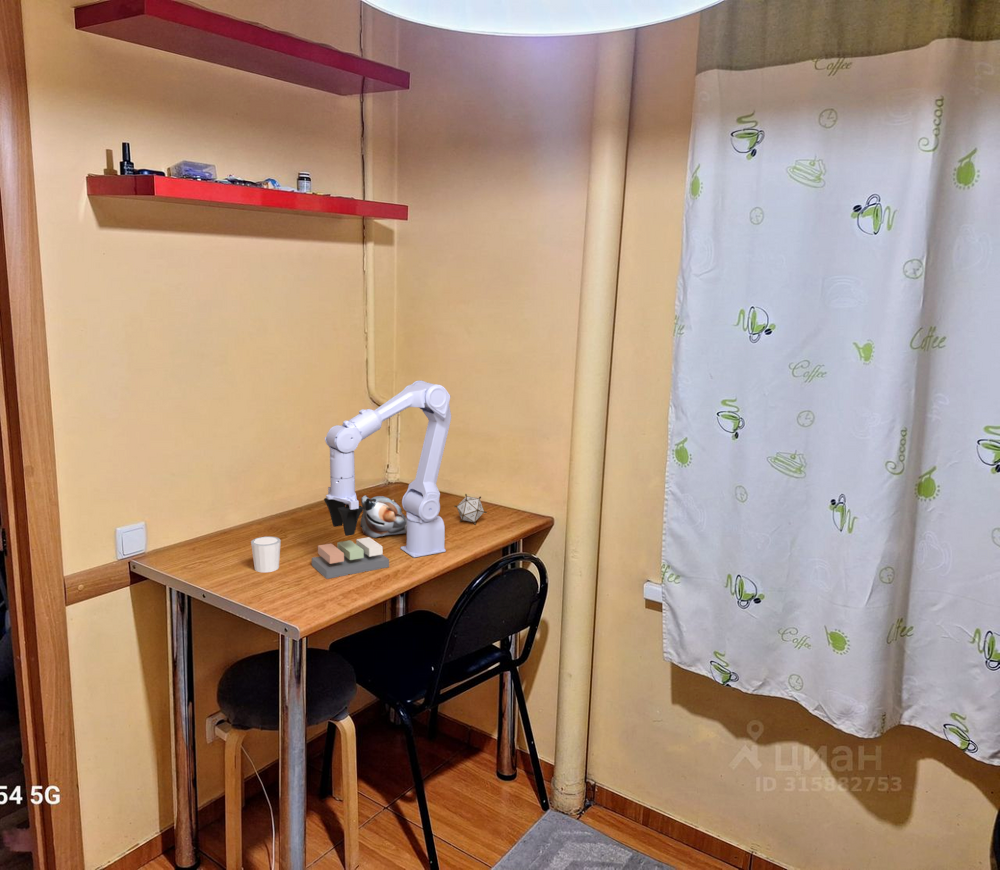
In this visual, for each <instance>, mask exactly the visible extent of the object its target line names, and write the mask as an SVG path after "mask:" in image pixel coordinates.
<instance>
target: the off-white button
mask: <svg viewBox="0 0 1000 870" xmlns="http://www.w3.org/2000/svg"><path fill="white" fill-rule="evenodd" d="M355 541H356V542H355V544H356V545H358V546H359V547H360V548H362V549H363V550H364V553H365V554H366V555H368V556H369V557H370V556H376V555H384V554H383V553H384V552H383V548H384V547H383V546H382V545H381V544H380V543H378V542H377V541H375V540H374V538H373V539H372V537H370V536H367V537H362V538H356V540H355Z"/></svg>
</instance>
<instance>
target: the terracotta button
mask: <svg viewBox="0 0 1000 870" xmlns="http://www.w3.org/2000/svg"><path fill="white" fill-rule="evenodd" d="M317 554H318V555H319V556H321V557H323V558H324V559H325V560H326V561H327V562H328V563H330V564H332V563H337V562H343V561H344V553H343V552H342V551H340V550H339V549H338V548H337V546H335V545H334V544H333V543H326V544H319V545H317Z"/></svg>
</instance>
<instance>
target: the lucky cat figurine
mask: <svg viewBox="0 0 1000 870" xmlns="http://www.w3.org/2000/svg"><path fill="white" fill-rule="evenodd" d="M360 499H361V506H362V507H363V511H362V513H361V514H362V515H361V516H360V524H359V525H360V526H359V527H360V528H361V529H362V533H363V535H365V536H367V537H370V538H373V539H377V538H379V537H383V536H384V537H385V536H391V535H392V536H394V535H400V534H407V516H406V515H405V514H404V513H403V512H402V507H401V506H400V505H399V504H398V503H397V502H396V500H395V499H393V498H392V499H391V498H389V497H387V496H384V495H377V496H373V497H371V498H369V497H368V495H363V496H362V497H361V498H360Z"/></svg>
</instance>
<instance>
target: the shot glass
mask: <svg viewBox="0 0 1000 870" xmlns="http://www.w3.org/2000/svg"><path fill="white" fill-rule="evenodd" d="M281 541H282V540H281V539H280V538H279V537H278V536H277V537H276V536H260V537H256V538H254V539H252V540H251V541H250V544H251V550H252V551H251V552H252V558H253V559H252V560H253V565H254V571H256V572H259V573H271V572H275V571H277V570H278V569H280V556H281V555H280V554H281Z"/></svg>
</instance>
